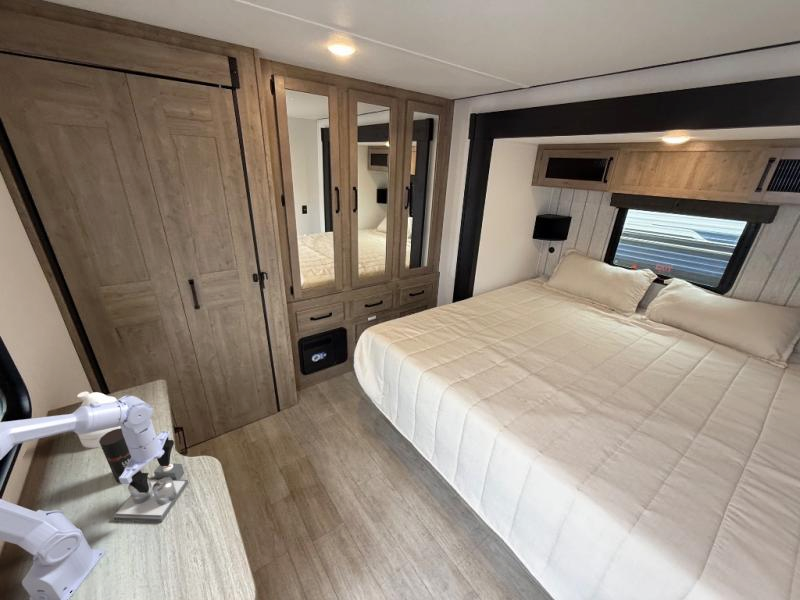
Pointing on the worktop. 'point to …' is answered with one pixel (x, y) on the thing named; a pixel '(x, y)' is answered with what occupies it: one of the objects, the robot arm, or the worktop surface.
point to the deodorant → (115, 452)
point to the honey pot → (93, 437)
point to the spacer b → (164, 490)
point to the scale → (151, 507)
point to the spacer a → (140, 494)
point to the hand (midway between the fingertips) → (155, 477)
